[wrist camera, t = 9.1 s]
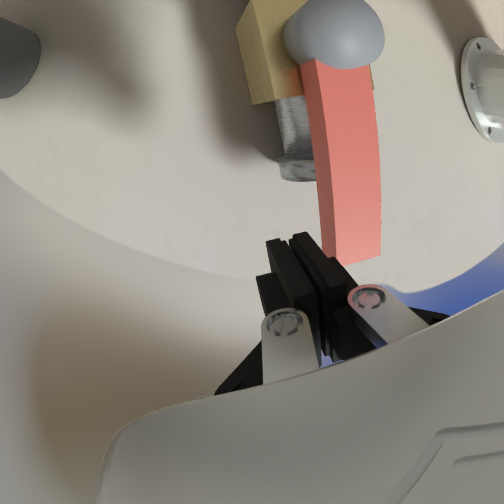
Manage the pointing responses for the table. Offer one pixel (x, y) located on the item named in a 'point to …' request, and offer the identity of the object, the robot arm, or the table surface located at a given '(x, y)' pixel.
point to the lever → (341, 120)
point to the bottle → (16, 57)
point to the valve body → (278, 81)
